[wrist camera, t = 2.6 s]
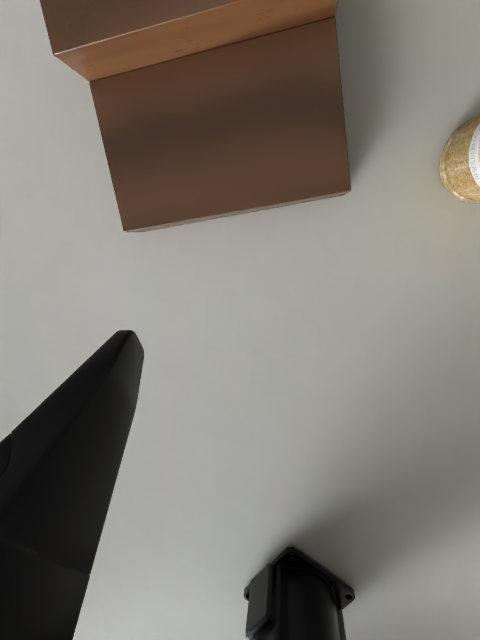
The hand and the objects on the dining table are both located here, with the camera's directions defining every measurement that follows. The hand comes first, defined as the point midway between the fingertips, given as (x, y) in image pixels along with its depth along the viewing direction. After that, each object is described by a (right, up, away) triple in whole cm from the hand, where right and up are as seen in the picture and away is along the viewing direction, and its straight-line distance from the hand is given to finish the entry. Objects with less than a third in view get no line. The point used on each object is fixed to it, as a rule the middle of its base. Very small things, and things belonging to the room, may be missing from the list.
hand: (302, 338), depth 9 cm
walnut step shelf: (-3, +13, +12) cm, 18 cm away
